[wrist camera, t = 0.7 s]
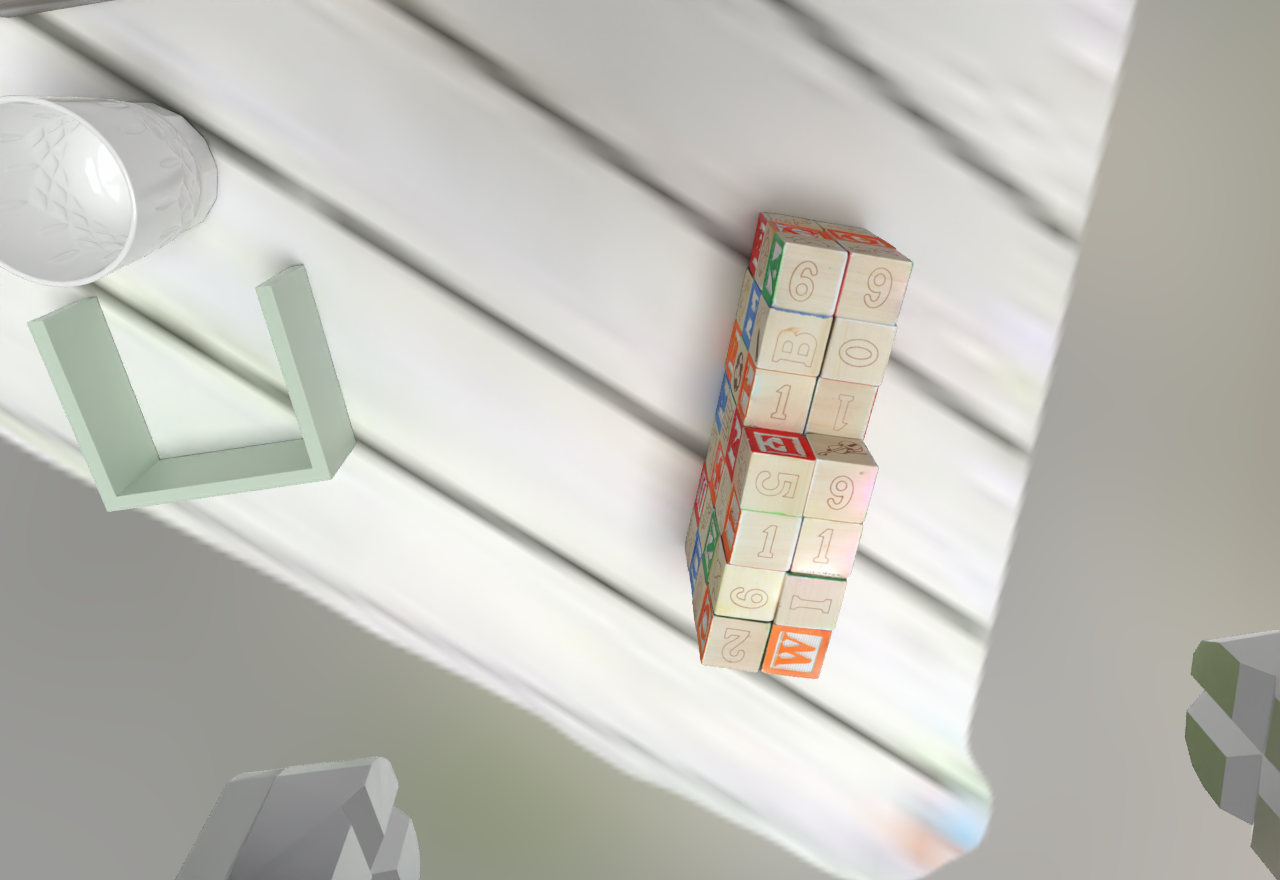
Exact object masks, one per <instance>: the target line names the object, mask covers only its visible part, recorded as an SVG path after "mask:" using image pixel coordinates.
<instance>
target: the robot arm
mask: <svg viewBox="0 0 1280 880" xmlns="http://www.w3.org/2000/svg"><path fill="white" fill-rule="evenodd" d="M1191 675H1192V676H1193V678H1194V679H1195V680H1196V681H1197V682H1198V683H1199V684H1200V685H1201V687H1202V688H1203V689H1204V691H1203V692H1202V693H1201V695H1200V696H1199V697H1198V698H1197V699H1196V700H1195V701H1194V703H1193V704H1192V705H1191V706H1190V707H1189V708H1188V710H1187V713H1186V729H1185V740H1186V743H1187V747H1188V751H1189V755H1190V759H1191V763H1192V766H1193V768H1194V770H1195V772H1196V773H1197V776H1198V777H1199V779H1200V781H1201V783H1202V785H1203V787H1204V788H1205V790H1206V791H1207V792H1208V793H1209V794H1210V796H1211V797H1212V799H1213V800H1214V801H1215V803H1216V804H1217V805H1218V806H1219V808H1221V809H1222V810H1224V811H1226V812H1228V813H1230V814H1232V815H1234V816H1236V817H1237V818H1239V819H1241V820H1243V821H1245V822H1247V823H1249V824H1251V825H1252V830H1251V848H1252V849H1253V850H1254V852H1255V853H1256V854H1257V855H1258V857H1259V858H1260V859H1261V860H1262V862H1263V863H1264V864H1265V865H1266V867H1267V868H1268V869H1269V870H1270V871H1271V873H1272V874H1273V875H1274V876H1275V878H1276V879H1277V880H1280V629H1278V630H1271V631H1264V632H1257V633H1251V634H1244V635H1237V636H1230V637H1224V638H1216V639H1210V640H1203V641H1201V642H1200V644H1199V646H1198V647H1197V649H1196V650H1195V652H1194V654H1193V662H1192V669H1191ZM398 786H399V784H398V781H397V779H396V776H395V774H394V771H393V769H392V766H391V764H390V761H389V760H387V759H385V758H383V757H380V756H378V757H370V758H362V759H352V760H344V761H335V762H326V763H318V764H309V765H301V766H292V767H287V768H286V769H275V770H267V771H257V772H249V773H240V774H239V775H237V776H236V777H235V778H233V779H232V780H231V781H229V782H228V783H227V784H226V786H225V788H224V789H223V791H222V793H221V795H220V797H219V799H218V801H217V802H216V804H215V806H214V808H213V810H212V812H211V814H210V815H209V817H208V819H207V821H206V823H205V825H204V827H203V828H202V830H201V832H200V834H199V836H198V838H197V839H196V841H195V843H194V845H193V847H192V849H191V851H190V853H189V854H188V856H187V858H186V860H185V862H184V864H183V865H182V867H181V869H180V871H179V873H178V875H177V877H176V878H175V880H419V875H420V854H419V848H418V842H417V835H416V832H415V829H414V826H413V823H412V821H411V818H410V817H409V816H408V815H406V814H405V813H404V812H402V811H401V810H399V809H398V808H397V807H395V806H394V805H393V804H394V800H395V796H396V793H397V790H398Z"/></svg>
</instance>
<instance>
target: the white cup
mask: <svg viewBox="0 0 1280 880" xmlns="http://www.w3.org/2000/svg"><path fill="white" fill-rule="evenodd" d="M216 198H217V167H216V165H215V162H214V160H213V157H212V155H211V153H210V150H209V148H208V145H207V143H206V141H205V139H204V138H203V137H202V136H201V135H200V134H199V133H198V132H197V131H196V130H195V129H194V128H193V127H192V126H191V125H190V124H189V123H188V122H187V121H186V120H185V119H184V118H183V117H182V116H181V115H179V114H176V113H174V112H172V111H170V110H167V109H165V108H163V107H160V106H158V105H156V104H154V103H131V102H125V101H120V100H115V99H103V98H87V97H57V96H23V95H11V96H2V97H0V267H2V268H3V269H5V270H7V271H8V272H10V273H12V274H14V275H16V276H18V277H21V278H23V279H25V280H28V281H31V282H34V283H38V284H42V285H47V286H54V287H73V286H80V285H85V284H88V283H91V282H94V281H96V280H99V279H101V278H103V277H105V276H106V275H108V274H110V273H112V272H114V271H116V270H118V269H120V268H122V267H124V266H126V265H128V264H130V263H132V262H134V261H136V260H139V259H141V258H143V257H145V256H147V255H148V254H150V253H152V252H153V251H155V250H157V249H159V248H161V247H162V246H164V245H166V244H167V243H169V242H171V241H173V240H174V239H176V238H177V237H178V235H180V234H181V233H183V232H185V231H187V230H188V229H190V228H192V227H194V226H195V225H197V224H199V223H201V222H202V221H204V219H205V217H206V215H207V214H208V212H209V210H210V208H211V207H212V205H213V203H214V201H215V200H216Z"/></svg>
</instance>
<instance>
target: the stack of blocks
mask: <svg viewBox="0 0 1280 880" xmlns="http://www.w3.org/2000/svg"><path fill="white" fill-rule="evenodd" d="M912 267H913V262H912V261H911V260H909V259H908V258H906V257H905V256H904V255H902V254H901V253H900V252H898V251H897V250H896V248H895V247H893V246H892V245H890V244H889V243H887V242H886V241H884V240H882V239H881V238H879V237H877V236H875V235H874V234H872V233H871V232H869V231H867V230H865V229H860V228H854V227H848V226H842V225H836V224H830V223H824V222H819V221H813V220H809V219H804V218H798V217H792V216H786V215H780V214H773V213H763V212H762V213H760V214H759V219H758V224H757V229H756V234H755V239H754V243H753V249H752V253H751V258H750V262H749V268H748V269H746V274H745V278H744V282H743V287H742V292H741V296H740V301H739V305H738V310H737V315H736V320H735V323H734V327H733V332H732V336H731V341H730V345H729V350H728V354H727V359H726V363H725V374H724V378H723V383H722V388H721V392H720V396H719V401H718V405H717V410H716V418H715V420H714V425H713V429H712V434H711V438H710V443H709V447H708V452H707V457H706V461H705V462H704V465H703V469H702V473H701V478H700V483H699V487H698V491H697V496H696V500H695V504H694V508H693V512H692V516H691V520H690V525H689V529H688V534H687V538H686V542H685V552H686V557H687V567H688V571H689V575H690V582H691V588H692V598H693V600H692V604H693V612H694V620H695V626H696V631H697V636H698V645H699V652H700V660H701V663H702V664H703V665H705V666H714V667H721V668H729V669H736V670H743V671H749V672H757V671H758V670H761V671H762V672H764V673H768V674H776V675H785V676H793V677H802V678H812V679H817V678H819V675H820V672H821V668H822V665H823V661H824V658H825V654H826V651H827V648H828V644H829V641H830V637H831V633H832V630H834V628H835V626H836V622H837V619H838V616H839V611H840V608H841V604H842V601H843V597H844V593H845V589H846V585H847V580H846V578H847V577H849V576H850V574H851V572H852V568H853V565H854V560H855V557H856V553H857V549H858V546H859V542H860V538H861V535H862V531H863V522H864V520H865V517H866V514H867V510H868V506H869V502H870V499H871V495H872V491H873V488H874V484H875V480H876V476H877V473H878V465H877V464H876V462H875V461H874V459H873V457H872V456H871V454H870V452H869V451H868V449H867V447H866V445H865V444H864V442H863V440H864V437H865V434H866V430H867V427H868V423H869V419H870V416H871V412H872V409H873V405H874V402H875V398H876V395H877V391H878V387H879V386H880V385H881V383H882V380H883V377H884V373H885V370H886V366H887V363H888V360H889V356H890V353H891V349H892V345H893V342H894V338H895V335H896V331H897V325H896V322H897V319H898V316H899V313H900V310H901V306H902V302H903V299H904V295H905V292H906V289H907V285H908V281H909V278H910V274H911V271H912Z"/></svg>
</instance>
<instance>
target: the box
mask: <svg viewBox="0 0 1280 880" xmlns="http://www.w3.org/2000/svg"><path fill="white" fill-rule="evenodd" d="M255 289H256V292H257V295H258V298H259V301H260V305H261V308H262V311H263V314H264V317H265V320H266V323H267V327H268V330H269V333H270V336H271V339H272V342H273V345H274V348H275V352H276V355H277V358H278V361H279V364H280V367H281V370H282V374H283V377H284V380H285V383H286V386H287V389H288V392H289V395H290V399H291V402H292V405H293V408H294V411H295V414H296V417H297V421H298V424H299V427H300V430H301V433H302V436H303V439H298V440H291V441H284V442H277V443H271V444H264V445H257V446H250V447H243V448H236V449H229V450H223V451H216V452H209V453H202V454H195V455H188V456H182V457H175V458H168V459H161V460H160V459H159V456H158V454H157V451H156V448H155V446H154V443H153V441H152V438H151V436H150V433H149V431H148V428H147V425H146V423H145V420H144V418H143V415H142V413H141V410H140V407H139V405H138V402H137V400H136V397H135V395H134V392H133V390H132V387H131V384H130V382H129V379H128V377H127V374H126V372H125V369H124V367H123V364H122V361H121V359H120V356H119V354H118V351H117V349H116V346H115V344H114V341H113V338H112V336H111V333H110V331H109V328H108V326H107V323H106V321H105V318H104V315H103V313H102V310H101V308H100V305H99V303H98V300H97V298H96V297H92V298H85V299H81V300H79V301H76V302H74V303H72V304H69V305H67V306H65V307H62V308H60V309H58V310H55V311H53V312H51V313H48V314H46V315H44V316H41V317H39V318H37V319H34V320H32V321H30V322H27V324H28V327H29V329H30V331H31V334H32V336H33V338H34V341H35V343H36V345H37V348H38V350H39V352H40V355H41V357H42V359H43V362H44V364H45V366H46V369H47V371H48V373H49V376H50V378H51V380H52V383H53V385H54V387H55V390H56V392H57V394H58V397H59V399H60V402H61V404H62V406H63V409H64V411H65V413H66V416H67V418H68V420H69V423H70V425H71V427H72V430H73V432H74V434H75V437H76V439H77V441H78V444H79V446H80V448H81V451H82V453H83V455H84V458H85V460H86V462H87V465H88V467H89V469H90V472H91V474H92V477H93V479H94V481H95V484H96V486H97V488H98V491H99V493H100V495H101V498H102V500H103V502H104V505H105V507H106V509H107V511H108V512H110V511H117V510H124V509H131V508H137V507H144V506H151V505H158V504H165V503H172V502H179V501H186V500H193V499H200V498H207V497H214V496H221V495H228V494H235V493H241V492H248V491H255V490H262V489H269V488H276V487H283V486H290V485H297V484H304V483H311V482H318V481H325V480H331V479H332V478H333V476H334V475H335V474H336V472H337V471H338V469H339V468H340V466H341V465H342V464H343V462H344V461H345V459H346V458H347V456H348V455H349V454H350V452H351V451H352V449H353V448H354V447H355V445H356V441H355V437H354V434H353V430H352V427H351V424H350V420H349V417H348V413H347V410H346V407H345V403H344V400H343V396H342V393H341V390H340V386H339V383H338V380H337V376H336V373H335V369H334V366H333V363H332V359H331V356H330V352H329V349H328V346H327V342H326V339H325V335H324V332H323V329H322V325H321V322H320V318H319V315H318V312H317V308H316V305H315V302H314V298H313V295H312V291H311V288H310V285H309V281H308V278H307V274H306V271H305V268H304V265H300V266H293V267H289V268H287V269H286V270H284V271H282V272H281V273H279V274H277V275H276V276H274V277H272V278H271V279H269V280H267V281H266V282H264V283H262V284H261V285H259V286H257V287H256V288H255Z"/></svg>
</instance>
